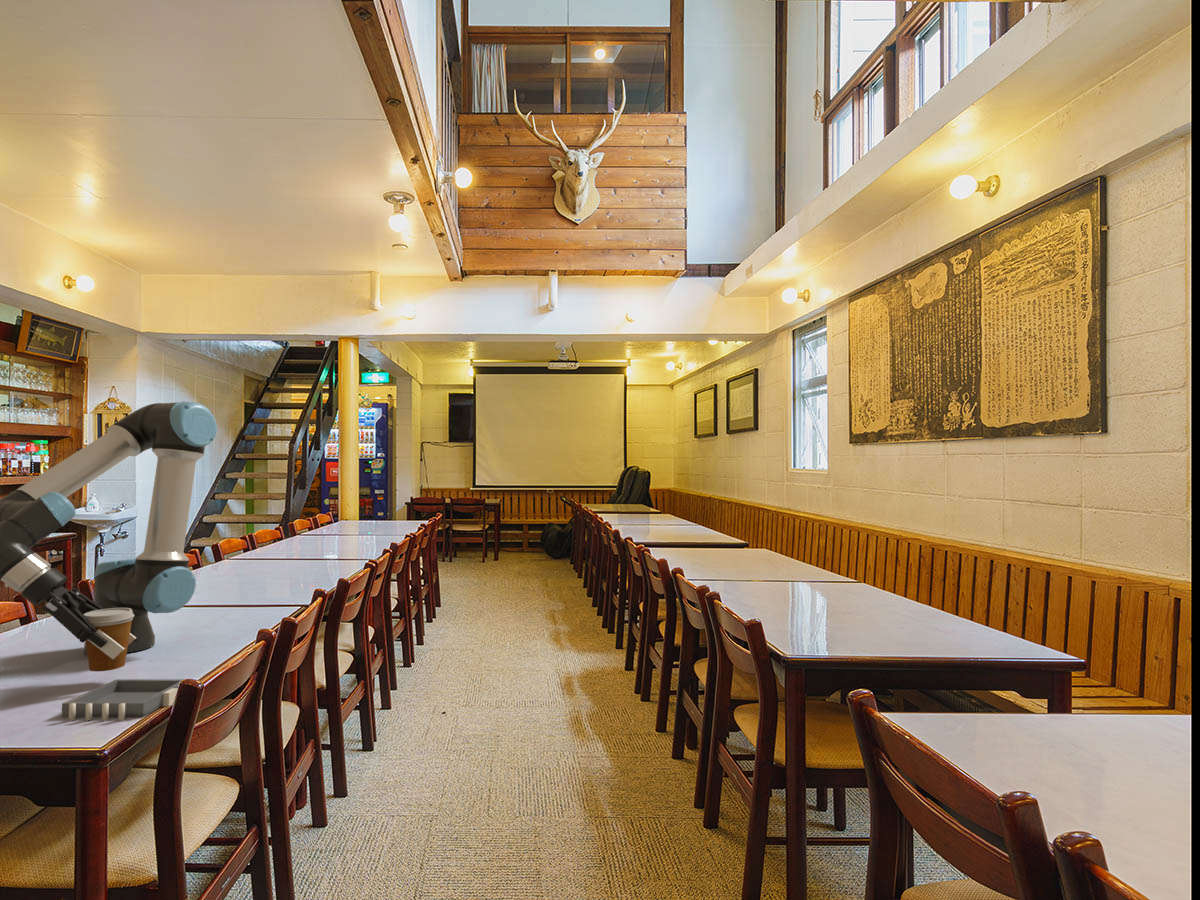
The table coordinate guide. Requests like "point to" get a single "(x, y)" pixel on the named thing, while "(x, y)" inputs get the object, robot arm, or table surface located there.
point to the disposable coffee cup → (115, 627)
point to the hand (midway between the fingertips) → (125, 648)
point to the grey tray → (122, 699)
